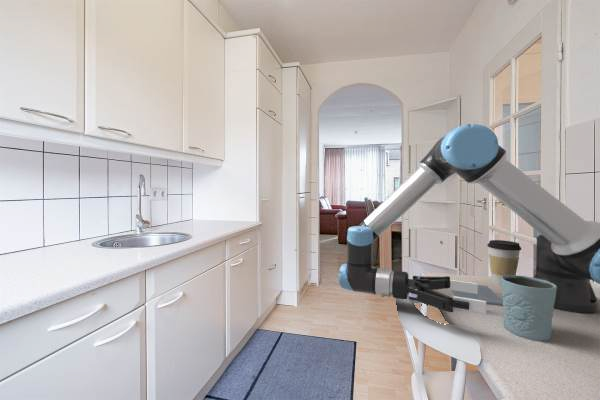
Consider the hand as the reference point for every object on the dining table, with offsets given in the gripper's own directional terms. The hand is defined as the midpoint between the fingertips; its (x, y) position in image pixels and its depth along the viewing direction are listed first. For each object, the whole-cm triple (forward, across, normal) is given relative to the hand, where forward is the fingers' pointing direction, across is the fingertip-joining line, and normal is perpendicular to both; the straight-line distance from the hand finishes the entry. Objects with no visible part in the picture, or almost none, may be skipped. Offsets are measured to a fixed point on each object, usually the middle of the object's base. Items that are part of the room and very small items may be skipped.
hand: (481, 297), depth 68 cm
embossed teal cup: (+9, 0, -7) cm, 11 cm away
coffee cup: (+12, -39, -7) cm, 41 cm away
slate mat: (+1, -22, -6) cm, 23 cm away
